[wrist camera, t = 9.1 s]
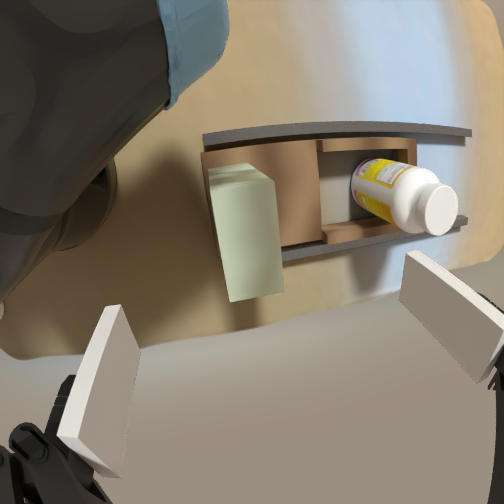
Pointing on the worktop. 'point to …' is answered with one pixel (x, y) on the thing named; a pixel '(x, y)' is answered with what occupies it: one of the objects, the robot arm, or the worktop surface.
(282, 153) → the wooden holder tray
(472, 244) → the worktop surface
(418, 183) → the supplement bottle
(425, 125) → the lane rails
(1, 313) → the milk bottle
